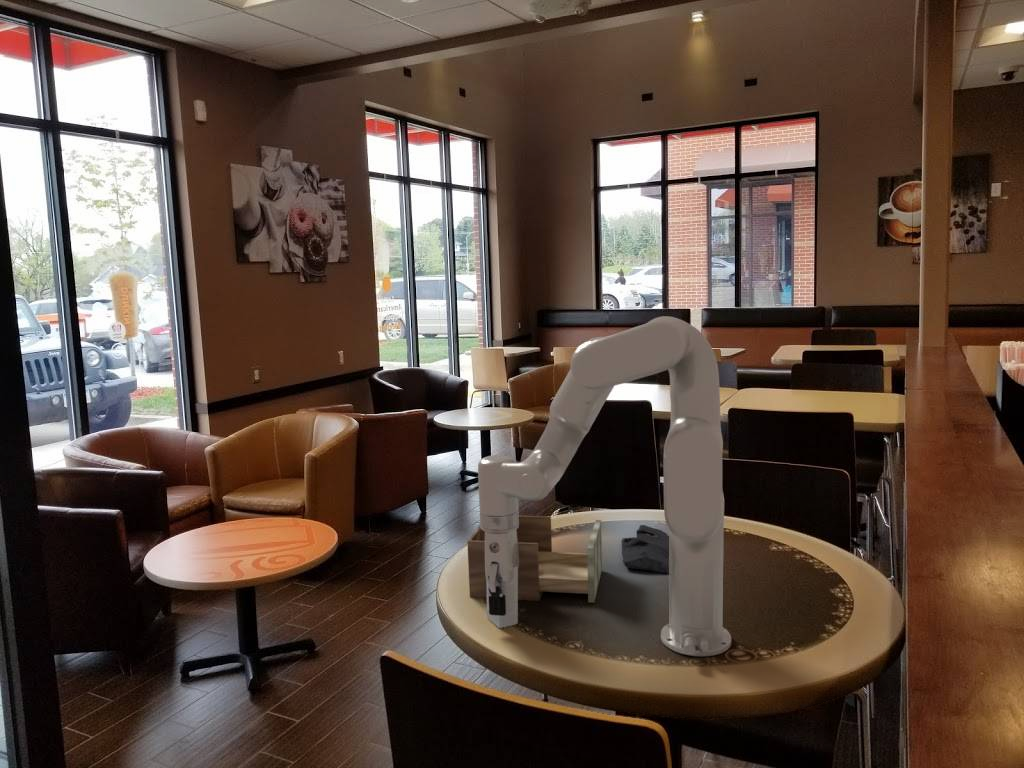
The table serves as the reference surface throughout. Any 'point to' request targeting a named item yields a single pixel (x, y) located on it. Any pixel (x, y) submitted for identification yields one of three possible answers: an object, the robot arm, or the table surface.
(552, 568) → the pull-out wooden drawer
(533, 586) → the walnut box
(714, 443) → the robot arm
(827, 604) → the table surface
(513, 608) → the skincare box
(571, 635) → the table surface
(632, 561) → the black tote bag
